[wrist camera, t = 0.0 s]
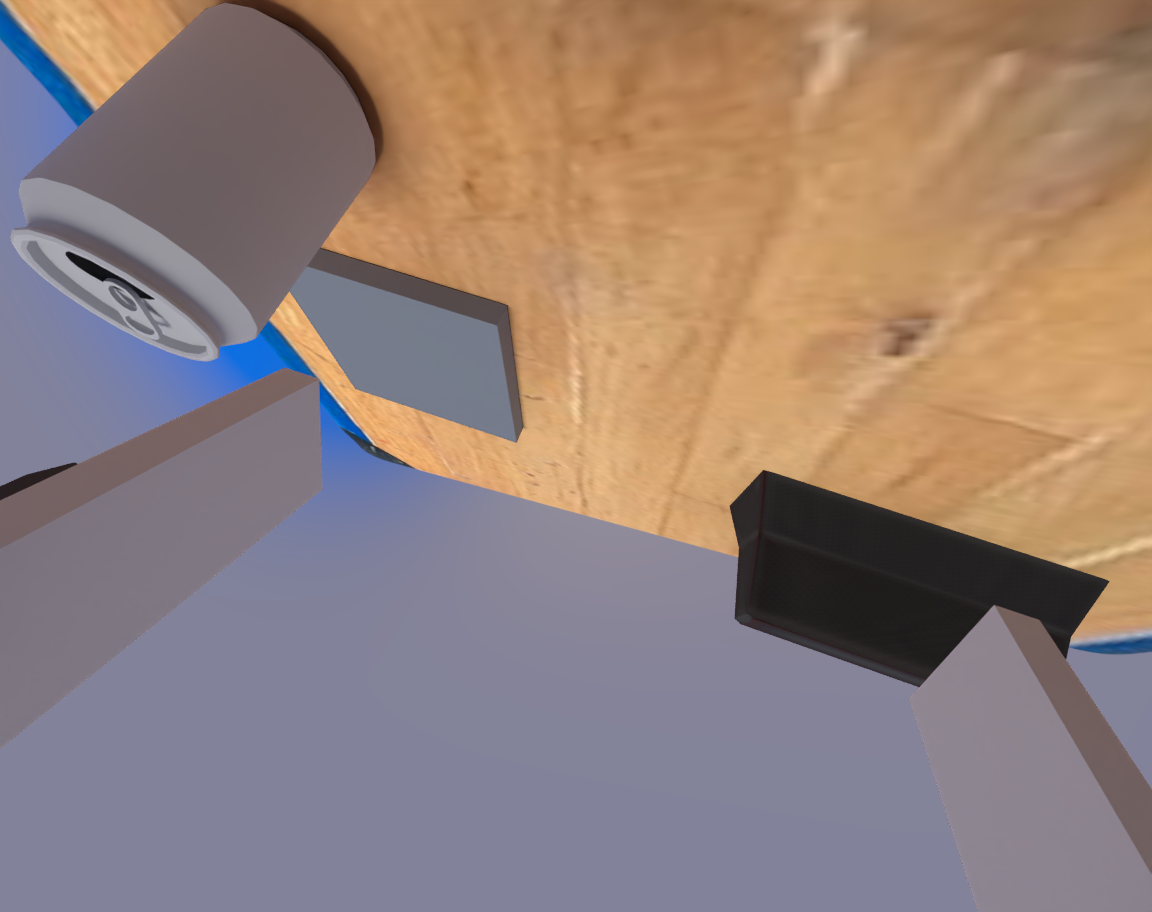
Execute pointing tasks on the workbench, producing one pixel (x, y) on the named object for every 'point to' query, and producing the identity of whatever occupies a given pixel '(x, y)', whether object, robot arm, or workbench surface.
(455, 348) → the slate board
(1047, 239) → the workbench surface
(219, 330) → the can
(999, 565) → the barrier
